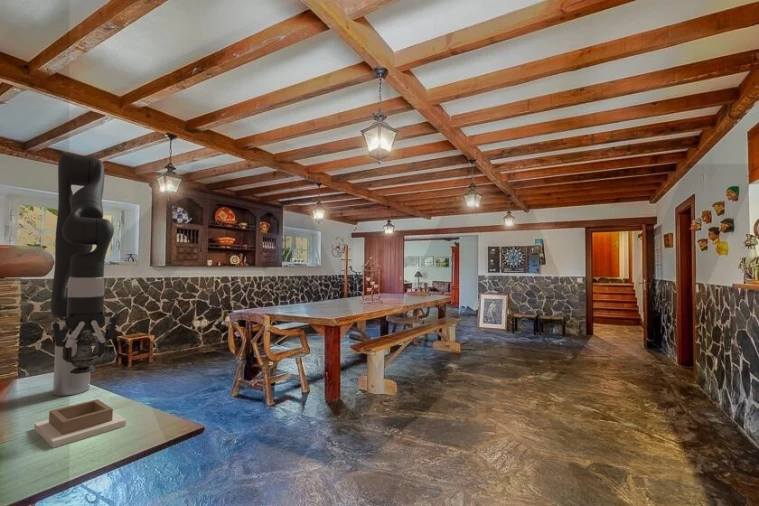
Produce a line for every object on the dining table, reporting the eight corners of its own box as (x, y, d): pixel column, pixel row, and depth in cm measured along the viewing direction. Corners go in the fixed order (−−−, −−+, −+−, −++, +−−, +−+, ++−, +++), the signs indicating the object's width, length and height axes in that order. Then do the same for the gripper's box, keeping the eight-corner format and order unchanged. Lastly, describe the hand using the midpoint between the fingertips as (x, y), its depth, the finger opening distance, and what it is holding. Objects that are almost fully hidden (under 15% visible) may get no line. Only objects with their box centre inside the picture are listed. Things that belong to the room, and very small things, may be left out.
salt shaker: (64, 371, 97) (66, 324, 97) (90, 365, 102) (92, 321, 102) (75, 375, 94) (77, 327, 94) (102, 369, 99) (104, 323, 99)
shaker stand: (34, 429, 96) (34, 411, 96) (103, 410, 108) (104, 394, 108) (52, 448, 87) (53, 428, 88) (125, 425, 100) (126, 408, 100)
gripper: (112, 291, 106) (109, 351, 106) (45, 294, 95) (43, 362, 94) (123, 293, 102) (121, 356, 102) (55, 297, 90) (52, 368, 90)
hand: (83, 359), depth 98 cm, fingers closed on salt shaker, 6 cm apart
